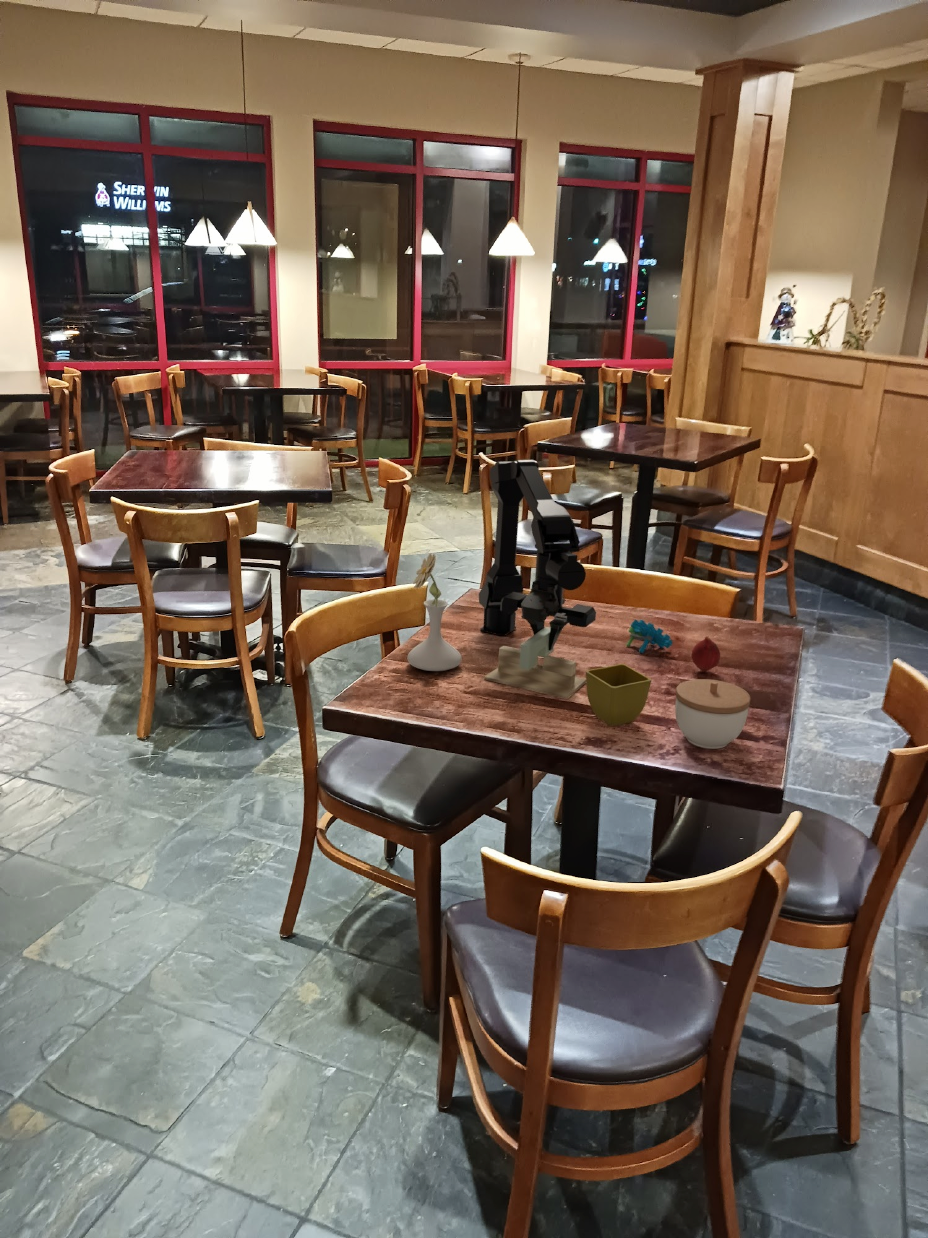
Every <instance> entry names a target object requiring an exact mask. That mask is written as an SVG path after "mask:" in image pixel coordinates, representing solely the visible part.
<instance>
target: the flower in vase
mask: <svg viewBox="0 0 928 1238" xmlns="http://www.w3.org/2000/svg"><path fill="white" fill-rule="evenodd" d="M436 561H437V560H436V554H435V553H433V554H432V553H431V552H429V554H428V556H427V557H426V558H425V557H424V558H423V560H422V564H421V566H420V567H421V568H420V569H417V571H416V572H415V573H416V575H417V576H416V577H415V579H414V580H413V581H412V583H413V585H414V589H418V588H419V589H420V588H421V587H423V586H424V584H425V583H426V582H427V581H428V579H429V578H431V580H432V584H431V586H430V587H429V593H430V595H431V596H432V597H433V598H432V599H428V600H425V601H423V606H425V608H426V609H427V612H428V616H429V617H428V618H429V633H428V636H427V637H426V638H425V639H424V640H423V641H422V642H420V643H419V644H417V645H416V646H415V647H413V648H412V649H411V650H410V651H409V652H408V654H407V657H406V658H407V661H408V663H409V664H410V665H411V666H412V667H414V668H417V669H420V670H423V671H428V672H443V671H448V670H451V669H455V668H457V667H458V666H460V664H461V662H462V661H463V658H462V656H461V655H462V654H461V653H460V652H459V650H457V648H455V647H454V646H453V645H451V644H450V643H449V642H448V641H446V640H445V639H444V638H443V636H442V632H441V631H442V630H441V629H442V627H441V625H442V619H443V614H444V611H445V609H446V608H447V607H448V605H449V602H447V600H443V599H439V598H440V597H441V596H442V591H440V590H441V589H439V587H438V585H437V583H436V580H435V578H434V577H433V574H432V572H433V570H434V567H435V566H436Z"/></svg>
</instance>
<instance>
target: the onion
mask: <svg viewBox="0 0 928 1238" xmlns="http://www.w3.org/2000/svg"><path fill="white" fill-rule="evenodd" d="M692 648H693V649H692V650H691V653H690V655H691V660H692V662H693V664H694V665H695V667H697V668H698V669H699V670H700V671H701V672H703V673H704V672H707V671H710V670H712V669H714V668H715V667H717V666H718V664H719V663H720V659H721V652H720V648H719V647H718V646H717V643H715V642H714V641H713V640H712V639H711V638H710V637H709V635H707V634H706V635H705V636H704V639H703V640H700V641H699V642H697V643H696V644H695V645H694V647H692Z"/></svg>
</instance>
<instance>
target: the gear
mask: <svg viewBox="0 0 928 1238" xmlns="http://www.w3.org/2000/svg"><path fill="white" fill-rule="evenodd" d="M663 632H664V630H663V629H662V628H660V627H658V628H657V629H656V628H655V626H654V624H653V623H651V622H648V623H646V621H644V620H643V619H639V620H637V619H634V620H633V621H632V622H631V624H630V628H629V629H628V633H630V634H629V637H630V638H629V640H628V642H627V643H626V647H630V646H631V645H632V642H633V641H634V640H636V641H641V642H643V643H642V644H641V646H640V648H639V649H638V653H641V654H644V652H645V651H646V649H647V647H648V645H649V644H650V645H652V646H653V645H654V646H656V645H657V647H659V648H661V649H663V648H666V649H669V648H671V646H672V645H673V643H674V642H673V640H671V636H670V635H669V634H667V633H665V634H663Z"/></svg>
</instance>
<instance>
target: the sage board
mask: <svg viewBox="0 0 928 1238" xmlns="http://www.w3.org/2000/svg"><path fill="white" fill-rule="evenodd" d="M550 629H551V627H550V626H544V628H543V629H542V630H540V631H539V632H538V633H536V634H535V635H534V634H533V635H532V636H531V637H529V638H528V639H527V640H525V641H523V642H522V643H521V644H520V648H519V649H520V667H519V668H520V669H525V670H530V669H531V668H533V667H534V666H535V665H539V663H538V661H539V658H544V657H546V656H547V655H549V656H550V654H552V653H554V649H555V648H554V647H553V649H552V650H551V651H549V637H550Z"/></svg>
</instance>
